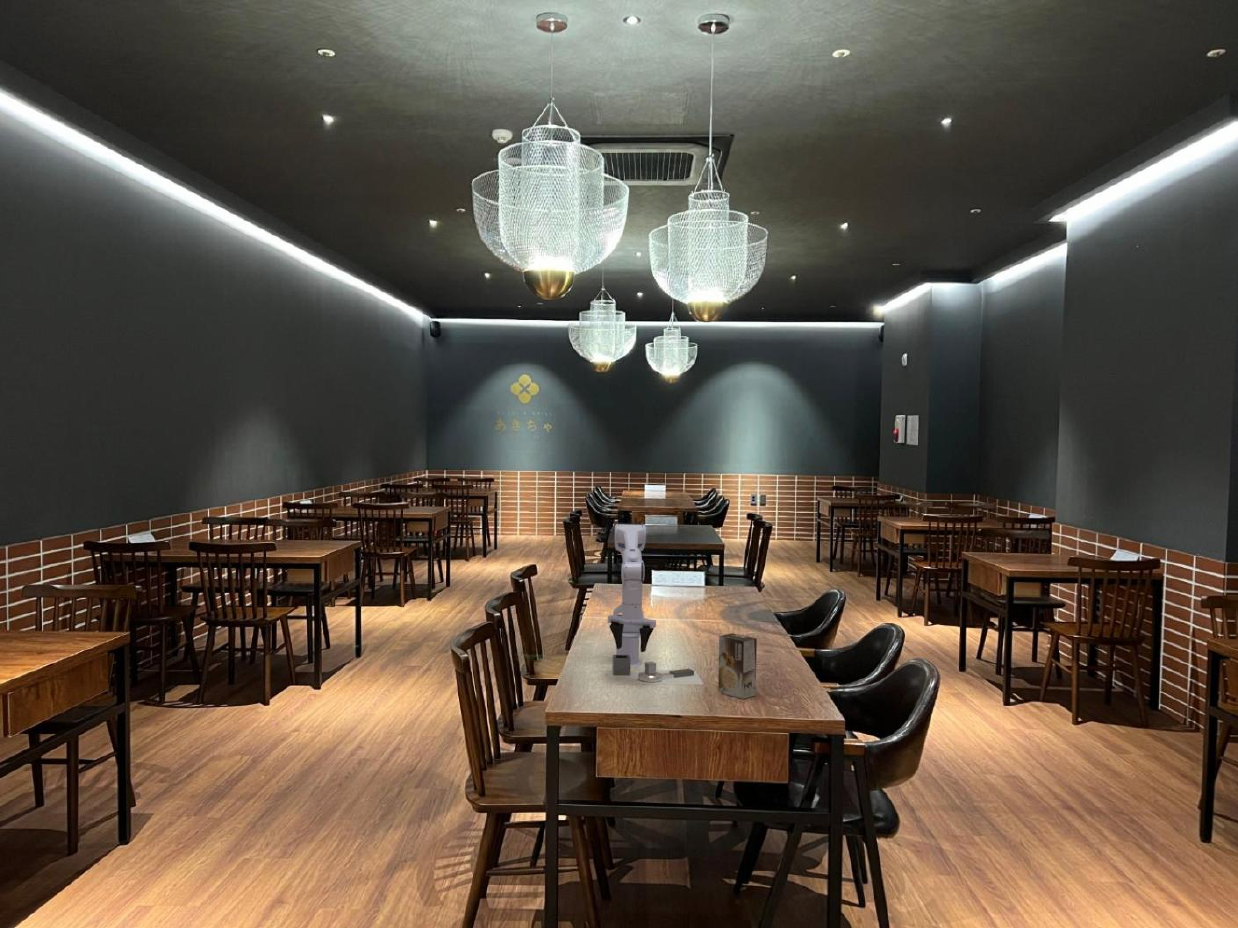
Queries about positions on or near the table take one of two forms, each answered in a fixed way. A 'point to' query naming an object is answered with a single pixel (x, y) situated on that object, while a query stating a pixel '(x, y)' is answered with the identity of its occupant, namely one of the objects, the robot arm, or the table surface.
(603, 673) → the table surface
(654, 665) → the ratchet
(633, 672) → the mat
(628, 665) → the socket
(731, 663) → the coffee box
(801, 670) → the table surface
